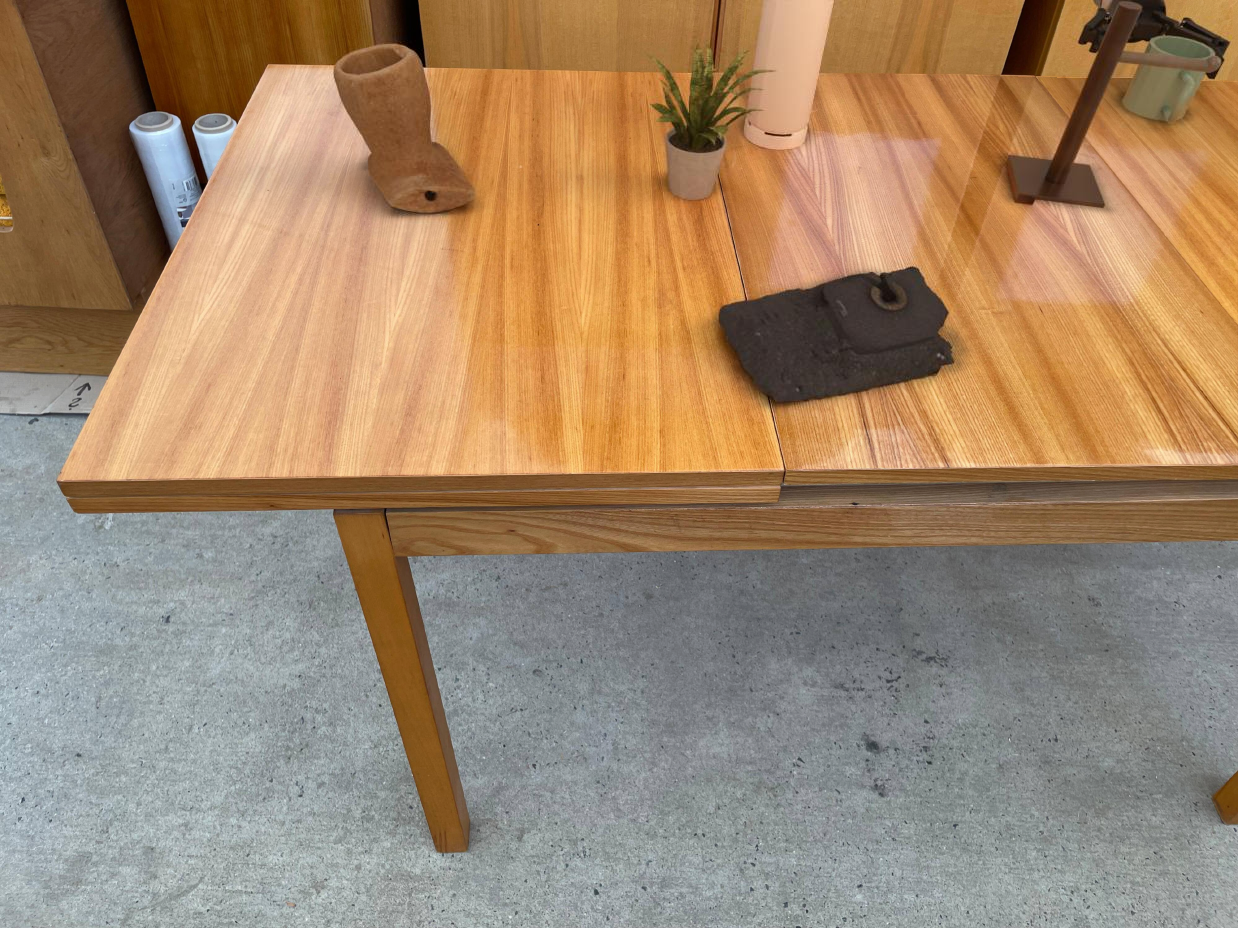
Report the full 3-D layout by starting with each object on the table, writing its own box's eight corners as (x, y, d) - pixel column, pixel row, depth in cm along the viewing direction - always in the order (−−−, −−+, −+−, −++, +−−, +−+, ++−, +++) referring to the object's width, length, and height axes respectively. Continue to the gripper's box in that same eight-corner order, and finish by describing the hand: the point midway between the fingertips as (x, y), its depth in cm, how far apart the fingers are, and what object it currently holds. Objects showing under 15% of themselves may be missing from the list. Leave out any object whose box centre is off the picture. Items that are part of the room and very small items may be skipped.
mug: (1114, 97, 129) (1143, 33, 123) (1173, 104, 128) (1205, 39, 122) (1132, 134, 121) (1165, 68, 114) (1195, 142, 120) (1231, 75, 114)
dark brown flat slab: (697, 314, 88) (702, 274, 85) (885, 278, 94) (897, 239, 91) (766, 414, 78) (775, 373, 75) (972, 366, 84) (989, 326, 81)
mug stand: (1139, 180, 112) (1230, 1, 97) (1158, 221, 105) (1259, 35, 90) (1005, 163, 113) (1073, -16, 98) (1015, 202, 107) (1090, 16, 91)
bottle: (730, 132, 116) (766, -117, 96) (772, 115, 120) (814, -127, 100) (776, 156, 112) (823, -98, 92) (818, 138, 116) (871, -109, 96)
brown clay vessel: (345, 166, 106) (320, 35, 95) (442, 151, 109) (429, 23, 98) (373, 231, 96) (349, 94, 85) (479, 212, 100) (468, 78, 89)
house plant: (782, 210, 103) (810, 68, 91) (679, 235, 98) (695, 89, 86) (718, 155, 111) (736, 19, 100) (620, 176, 107) (627, 35, 95)
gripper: (1204, 44, 140) (1244, 101, 125) (1041, 26, 142) (1062, 79, 128) (1229, -7, 134) (1275, 46, 120) (1060, -25, 137) (1084, 25, 122)
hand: (1165, 63), depth 124 cm, fingers open, 13 cm apart
